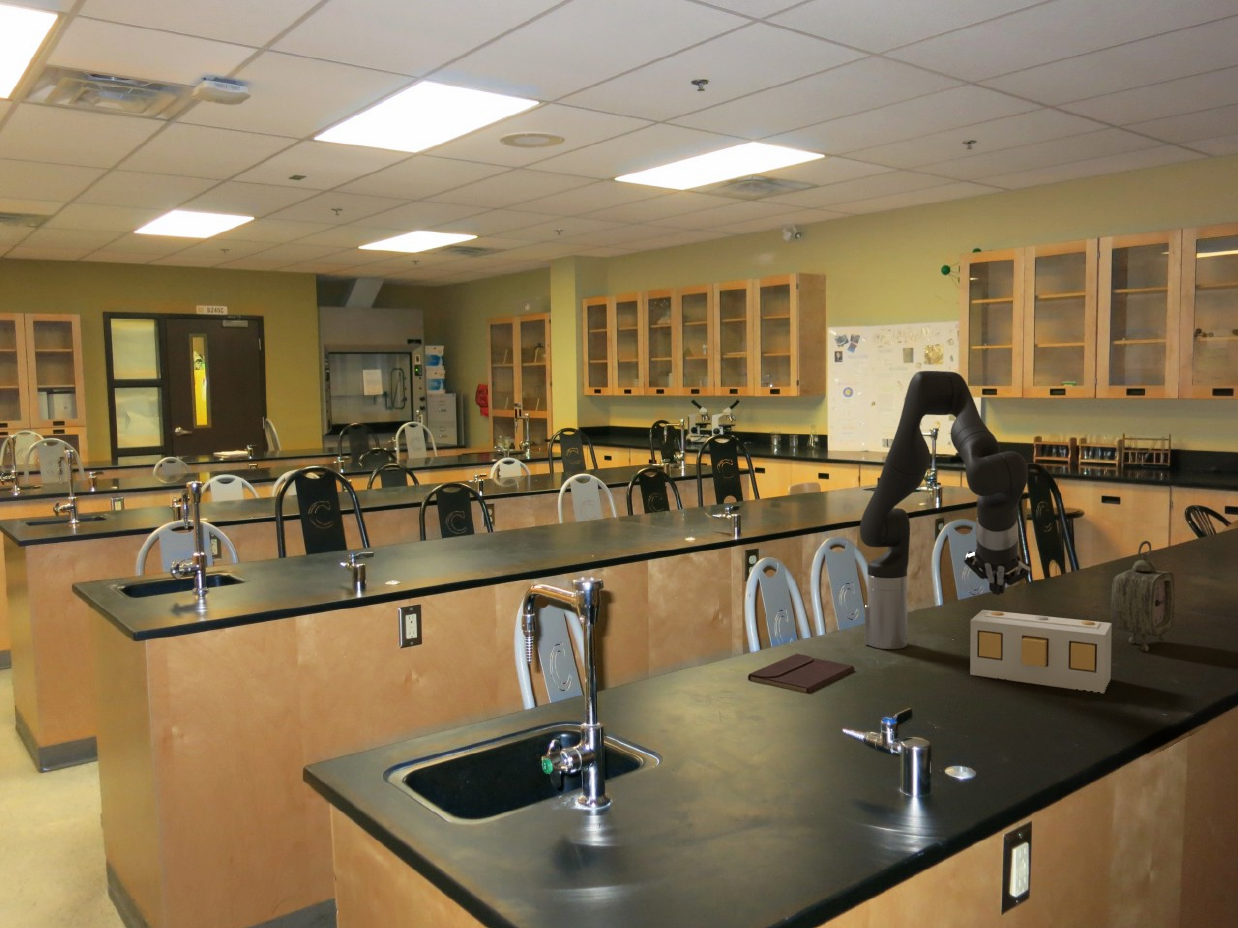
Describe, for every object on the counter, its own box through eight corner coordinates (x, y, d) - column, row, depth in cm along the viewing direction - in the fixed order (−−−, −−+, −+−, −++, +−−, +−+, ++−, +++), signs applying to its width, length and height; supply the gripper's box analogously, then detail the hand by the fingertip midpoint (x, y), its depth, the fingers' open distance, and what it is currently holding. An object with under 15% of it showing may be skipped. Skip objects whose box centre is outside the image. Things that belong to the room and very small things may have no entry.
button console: (970, 674, 207) (970, 617, 206) (982, 661, 216) (982, 607, 215) (1103, 693, 193) (1104, 632, 192) (1110, 678, 202) (1111, 620, 201)
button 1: (979, 655, 206) (979, 631, 205) (982, 652, 208) (982, 628, 208) (1000, 658, 203) (1000, 634, 203) (1003, 655, 206) (1003, 631, 205)
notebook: (854, 672, 212) (854, 664, 212) (808, 695, 197) (808, 686, 197) (795, 661, 222) (795, 652, 222) (747, 681, 207) (747, 672, 207)
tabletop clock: (1149, 654, 219) (1152, 546, 217) (1108, 647, 225) (1110, 542, 223) (1173, 642, 228) (1175, 539, 226) (1133, 636, 235) (1135, 535, 233)
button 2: (1070, 667, 196) (1070, 642, 195) (1072, 663, 198) (1073, 639, 198) (1094, 670, 193) (1094, 645, 193) (1096, 666, 196) (1096, 641, 195)
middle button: (1021, 663, 199) (1022, 639, 199) (1024, 660, 202) (1024, 636, 201) (1044, 666, 197) (1044, 642, 196) (1047, 663, 199) (1047, 638, 199)
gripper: (1038, 527, 183) (1036, 585, 194) (967, 514, 190) (969, 570, 201) (1028, 556, 179) (1026, 613, 190) (956, 541, 186) (959, 597, 197)
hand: (997, 591), depth 196 cm, fingers closed
